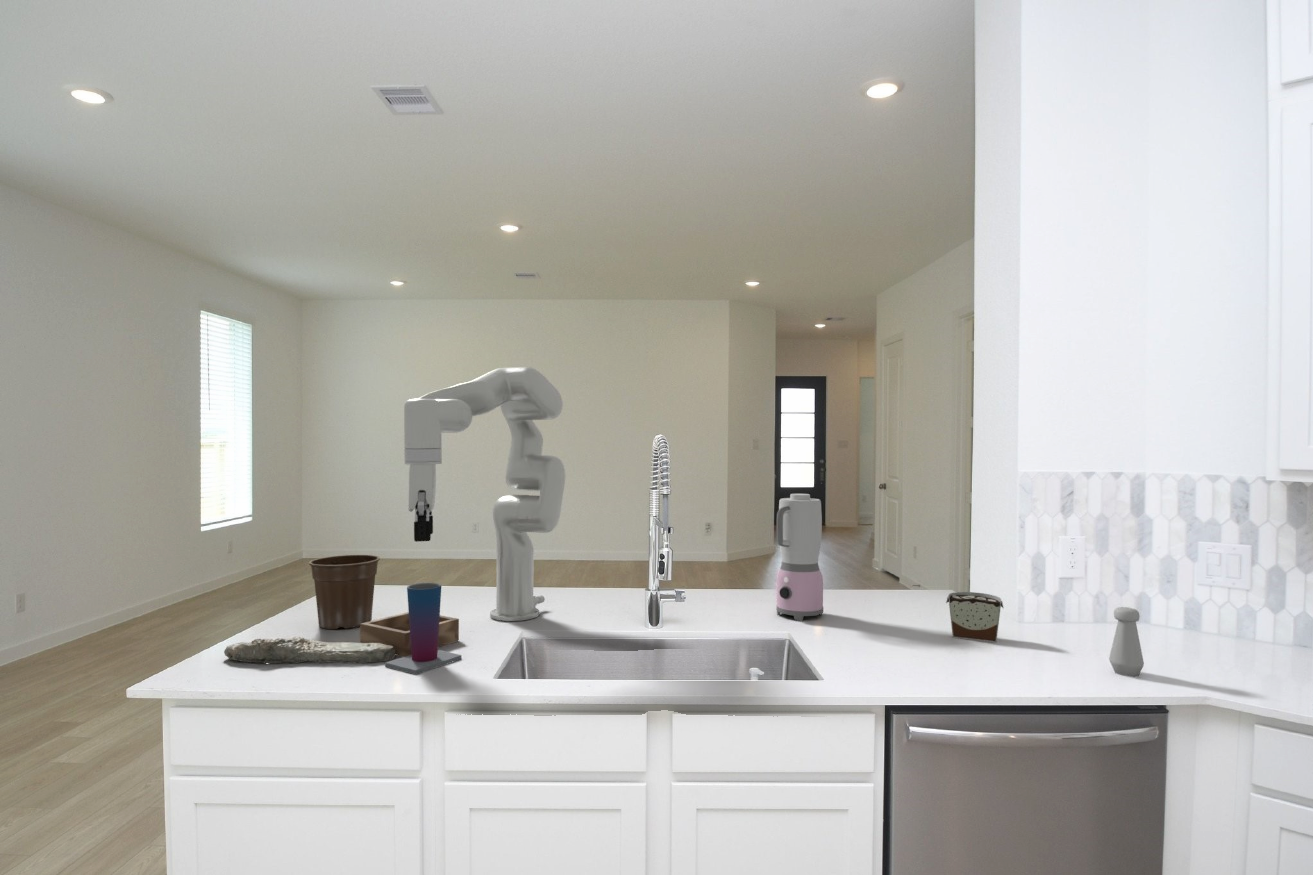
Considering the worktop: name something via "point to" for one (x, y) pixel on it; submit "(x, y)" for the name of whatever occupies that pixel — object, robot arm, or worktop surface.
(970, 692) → the worktop surface
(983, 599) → the food container
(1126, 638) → the salt shaker
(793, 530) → the blender
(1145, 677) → the worktop surface
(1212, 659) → the worktop surface
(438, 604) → the cup
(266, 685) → the worktop surface
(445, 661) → the slate mat
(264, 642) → the long grey stone
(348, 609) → the plant pot
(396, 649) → the open wooden box
